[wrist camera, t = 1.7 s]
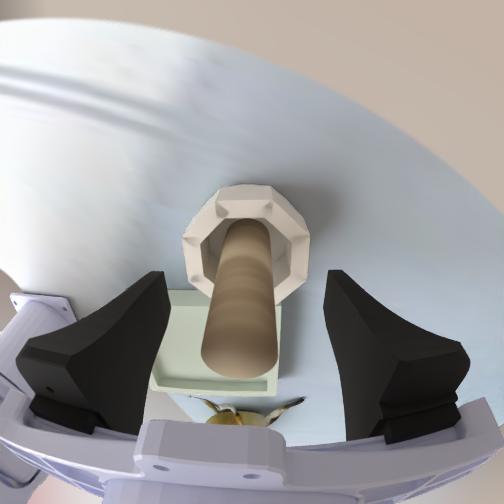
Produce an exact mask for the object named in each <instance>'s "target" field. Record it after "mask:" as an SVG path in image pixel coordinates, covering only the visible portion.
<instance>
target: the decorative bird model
mask: <svg viewBox="0 0 504 504" xmlns="http://www.w3.org/2000/svg"><path fill="white" fill-rule="evenodd" d="M188 397H190V398H191V396H188ZM193 398H197V397H193ZM198 399H200V400H202V401H203V402H204V403H205V404H207V405H208V406H209V407H210V408H212V409H213V410H214V411H215V412H216V413H218V414H216V415H214V416H212V417H211V418H210V419H208V420H207V422H206V423H205V424H220V425H249V426H258V427H267V426H269V425H270V424H272V423H273V422H274V421H276V420H277V419H278V417H279V416H280V415H281V413H282V412H284V411H285V410H287V409H288V408H290V407H292V406H295V405H298V404H300V403H302V402H303V401H304V399H300V400H296V401H294V402H292V403H290V404H287V405H284V406H282V407H281V408H278V409H276V410H274V411H273V412H271V413H270V414H269V415H267V416H266V417H265V416H264V415H261V414H258V413H254V412H247V411H237V410H236V408H235V407H234V406H232V405H230V404H222V405H219V406H218V407H220V410H224V409H231V410H232V411H228V412H222V413H221V412H220V411H218V410H217V408H216V407H215V406H213V405H212V404H211V403H210V402H209V401H208V400H205V399H201V398H198Z"/></svg>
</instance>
